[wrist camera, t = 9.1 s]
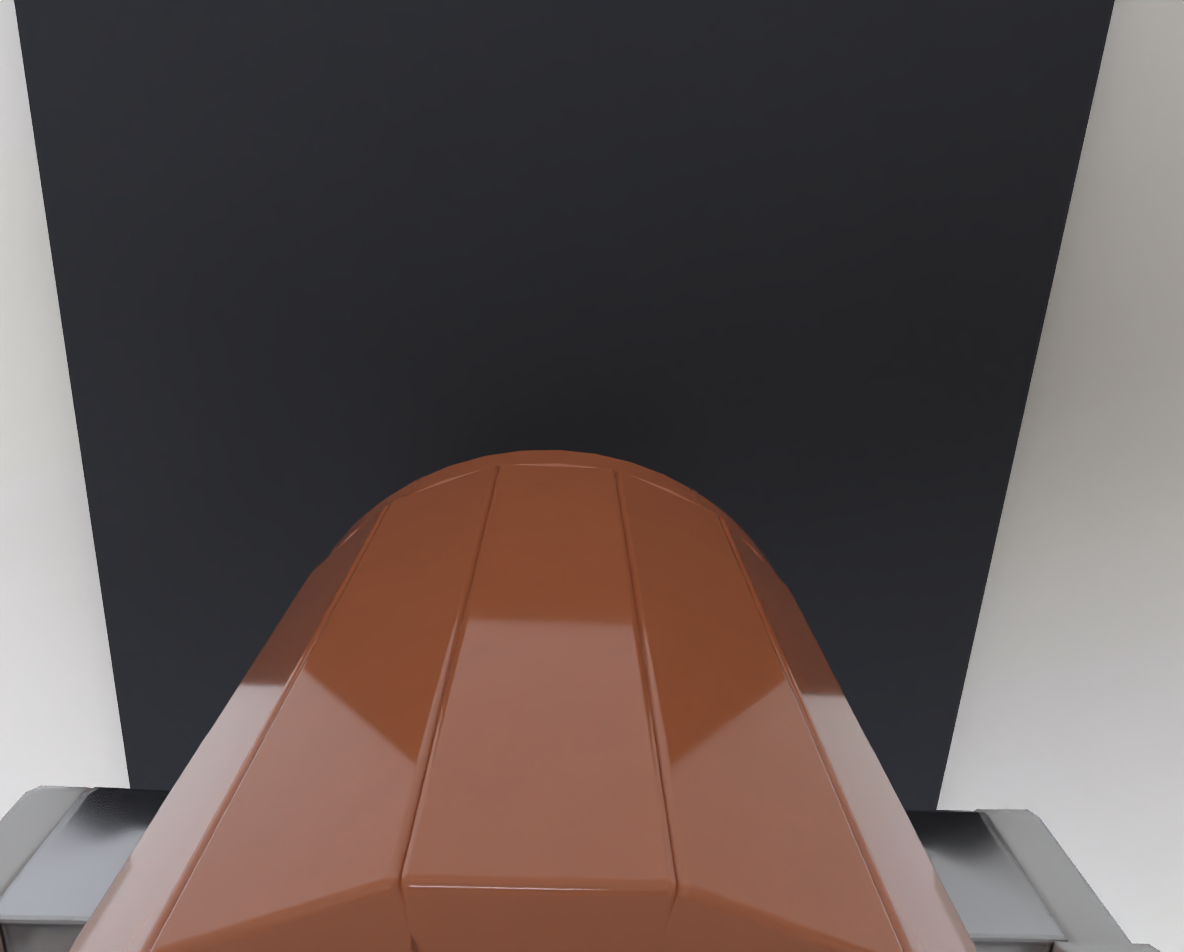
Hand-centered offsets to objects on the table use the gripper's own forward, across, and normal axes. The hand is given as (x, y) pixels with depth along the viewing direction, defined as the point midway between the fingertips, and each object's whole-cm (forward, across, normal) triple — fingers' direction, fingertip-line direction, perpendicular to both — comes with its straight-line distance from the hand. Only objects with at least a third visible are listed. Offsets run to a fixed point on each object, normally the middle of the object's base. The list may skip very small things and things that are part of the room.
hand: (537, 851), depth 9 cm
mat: (+12, 0, 0) cm, 12 cm away
